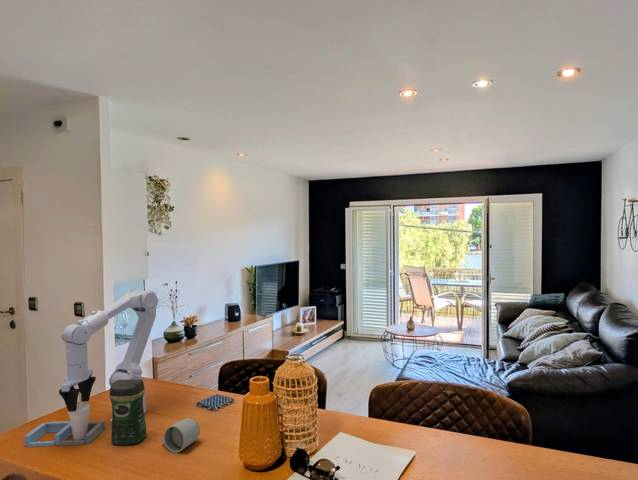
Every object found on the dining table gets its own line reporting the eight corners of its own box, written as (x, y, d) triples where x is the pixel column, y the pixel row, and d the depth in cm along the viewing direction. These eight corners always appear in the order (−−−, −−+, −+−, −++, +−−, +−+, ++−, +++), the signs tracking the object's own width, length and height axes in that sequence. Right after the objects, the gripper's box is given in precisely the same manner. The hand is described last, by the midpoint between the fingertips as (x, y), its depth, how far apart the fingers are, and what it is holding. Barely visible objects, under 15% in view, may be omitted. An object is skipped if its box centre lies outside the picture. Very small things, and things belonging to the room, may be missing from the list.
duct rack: (104, 428, 139) (104, 419, 138) (88, 444, 128) (88, 434, 128) (44, 431, 138) (43, 422, 138) (23, 447, 128) (23, 437, 128)
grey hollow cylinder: (202, 441, 129) (201, 416, 129) (184, 454, 121) (183, 428, 121) (174, 436, 132) (173, 412, 132) (155, 449, 125) (154, 423, 125)
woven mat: (194, 407, 155) (194, 402, 155) (216, 397, 164) (216, 392, 164) (213, 414, 149) (213, 408, 149) (235, 403, 158) (235, 398, 158)
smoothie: (81, 443, 130) (79, 397, 129) (63, 441, 131) (61, 396, 131) (96, 433, 136) (94, 389, 136) (79, 431, 137) (77, 388, 137)
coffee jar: (150, 433, 134) (148, 375, 134) (138, 446, 127) (136, 384, 126) (120, 433, 135) (118, 375, 135) (106, 446, 127) (104, 384, 127)
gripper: (76, 356, 140) (78, 397, 140) (50, 370, 125) (52, 416, 126) (98, 355, 140) (100, 396, 140) (74, 370, 126) (76, 415, 126)
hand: (78, 406), depth 133 cm, fingers open, 7 cm apart
